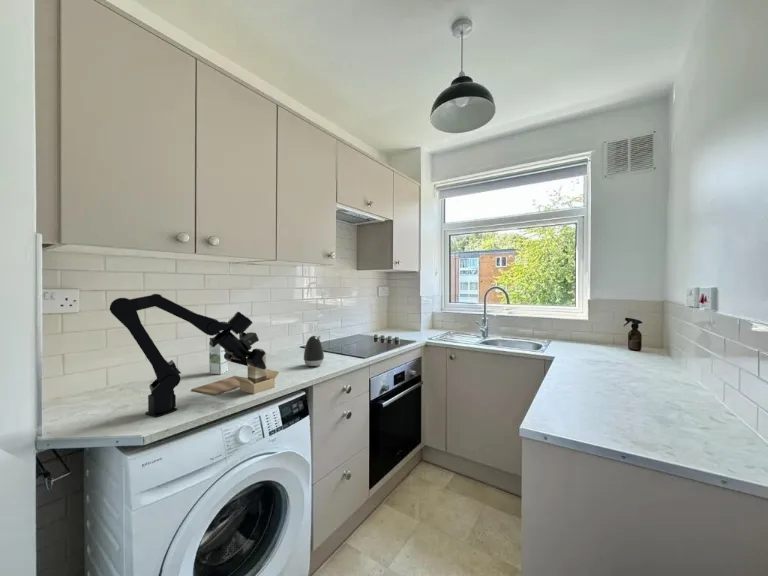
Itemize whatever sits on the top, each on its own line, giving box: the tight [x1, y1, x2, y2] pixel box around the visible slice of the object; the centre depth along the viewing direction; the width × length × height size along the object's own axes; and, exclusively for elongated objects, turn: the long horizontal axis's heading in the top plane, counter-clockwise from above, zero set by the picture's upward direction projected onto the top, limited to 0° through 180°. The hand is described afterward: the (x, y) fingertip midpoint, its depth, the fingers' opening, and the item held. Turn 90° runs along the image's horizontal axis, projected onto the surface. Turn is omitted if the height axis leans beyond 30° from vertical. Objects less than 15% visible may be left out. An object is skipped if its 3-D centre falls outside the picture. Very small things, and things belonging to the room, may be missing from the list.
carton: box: [234, 368, 280, 395], centre depth 125 cm, size 14×9×6 cm, turn 147°
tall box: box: [247, 352, 268, 384], centre depth 125 cm, size 5×5×14 cm
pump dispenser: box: [303, 335, 325, 367], centre depth 161 cm, size 10×10×15 cm
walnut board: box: [190, 375, 248, 396], centre depth 129 cm, size 20×14×1 cm
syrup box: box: [208, 344, 229, 375], centre depth 149 cm, size 6×6×14 cm
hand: (257, 367), depth 125 cm, fingers open, 9 cm apart
